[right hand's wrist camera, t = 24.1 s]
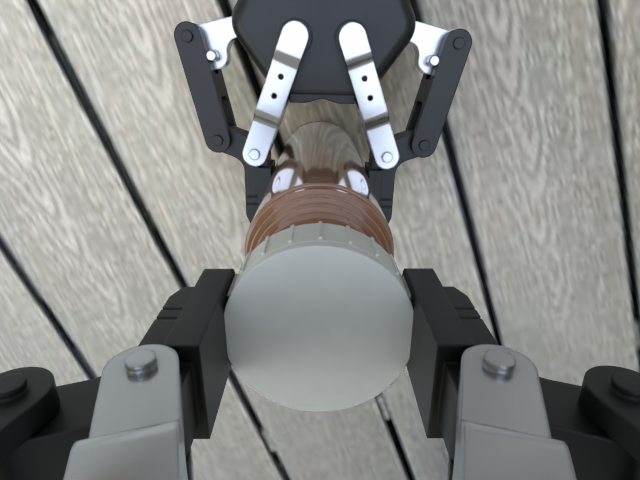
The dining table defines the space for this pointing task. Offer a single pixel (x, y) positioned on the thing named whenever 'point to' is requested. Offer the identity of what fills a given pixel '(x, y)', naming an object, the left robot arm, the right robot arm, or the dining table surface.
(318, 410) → the cap
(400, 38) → the left robot arm
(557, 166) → the dining table surface
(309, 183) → the bottle
